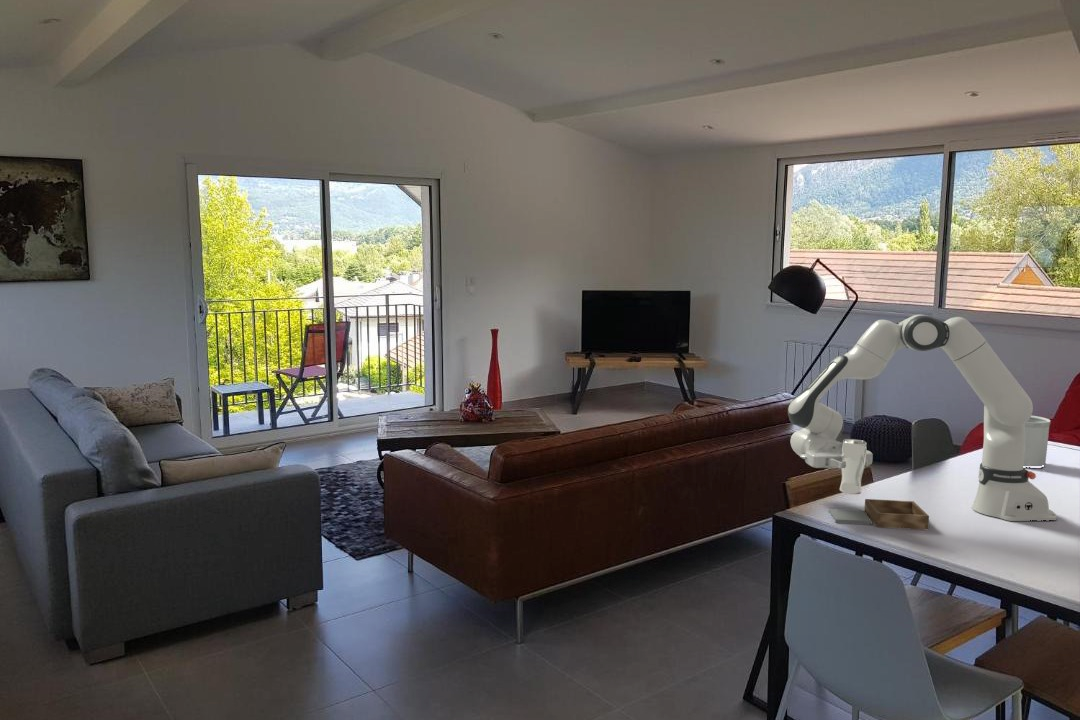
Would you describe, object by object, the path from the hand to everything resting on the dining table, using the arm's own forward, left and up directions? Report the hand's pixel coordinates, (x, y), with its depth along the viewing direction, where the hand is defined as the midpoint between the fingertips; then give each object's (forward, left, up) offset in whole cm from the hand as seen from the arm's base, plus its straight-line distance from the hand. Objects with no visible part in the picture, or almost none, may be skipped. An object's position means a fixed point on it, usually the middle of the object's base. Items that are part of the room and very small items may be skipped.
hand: (854, 465), depth 244 cm
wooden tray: (-13, -1, -16) cm, 21 cm away
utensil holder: (-80, -77, -17) cm, 112 cm away
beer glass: (0, -1, -8) cm, 8 cm away
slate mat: (0, -1, -16) cm, 16 cm away
